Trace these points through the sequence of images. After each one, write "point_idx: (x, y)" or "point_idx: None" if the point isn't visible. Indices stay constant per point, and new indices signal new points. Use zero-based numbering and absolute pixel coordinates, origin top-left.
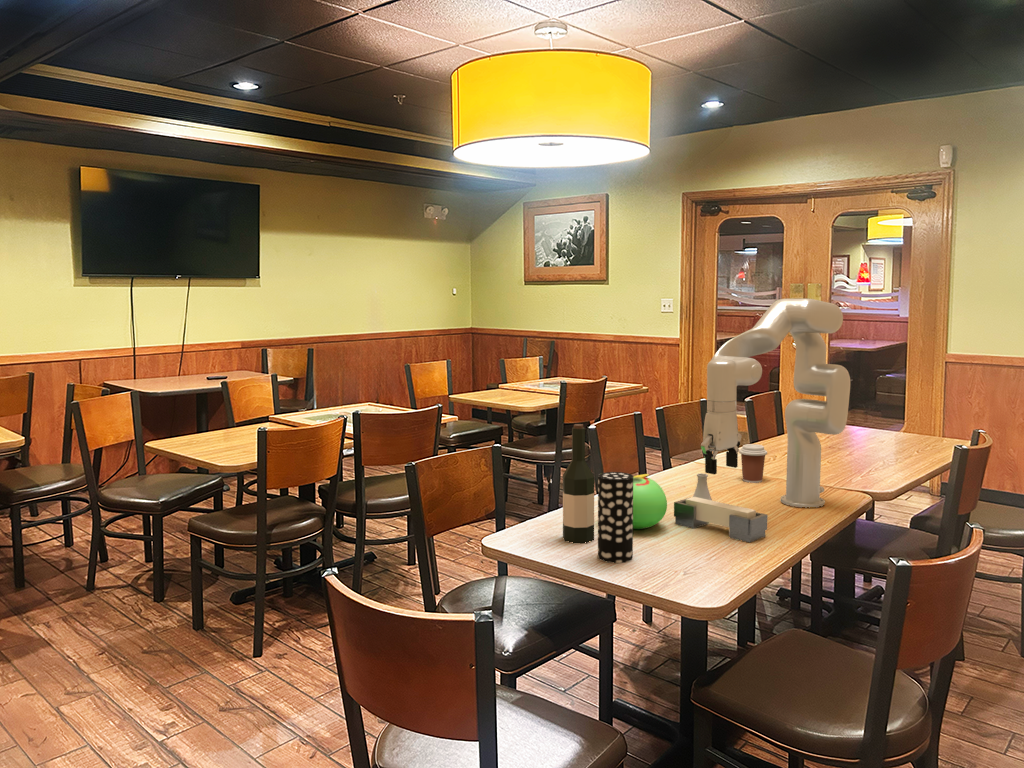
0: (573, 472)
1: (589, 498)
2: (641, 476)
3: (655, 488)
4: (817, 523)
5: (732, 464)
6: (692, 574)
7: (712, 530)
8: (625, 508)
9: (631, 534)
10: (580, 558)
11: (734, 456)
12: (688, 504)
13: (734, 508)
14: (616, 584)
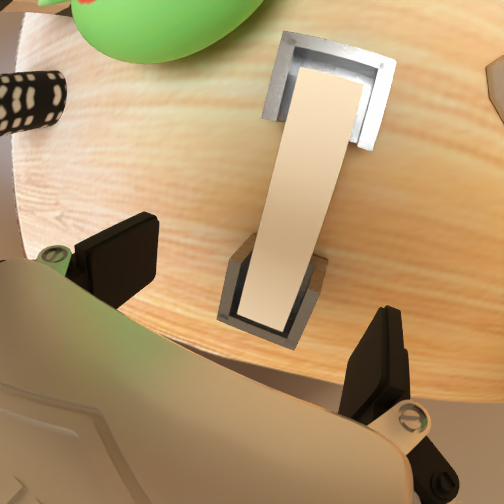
0: None
1: (12, 7)
2: None
3: (105, 24)
4: (451, 381)
5: (357, 355)
6: (62, 228)
7: None
8: None
9: (17, 131)
10: (35, 67)
11: (343, 412)
12: (283, 87)
13: (266, 273)
14: (12, 163)
